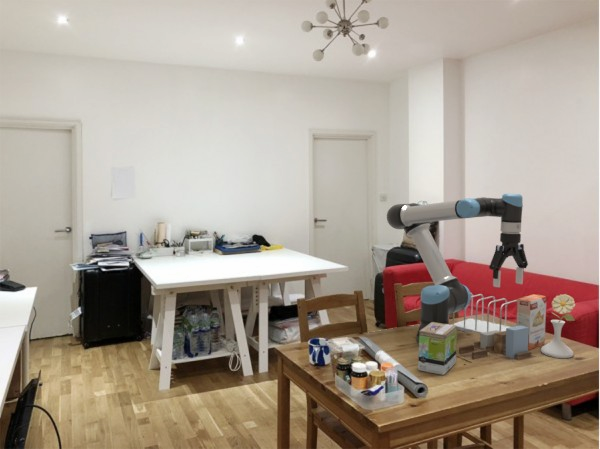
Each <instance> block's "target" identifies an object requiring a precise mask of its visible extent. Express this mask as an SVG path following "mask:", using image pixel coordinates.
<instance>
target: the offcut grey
mask: <svg viewBox="0 0 600 449" xmlns="http://www.w3.org/2000/svg"><path fill="white" fill-rule="evenodd" d="M497 332H501V331H498V330H495V331H490V332H484V333H480V340H479V341H480V348H482V349H486V346H490V345H494V333H497Z"/></svg>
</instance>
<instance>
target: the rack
mask: <svg viewBox="0 0 600 449" xmlns="http://www.w3.org/2000/svg"><path fill="white" fill-rule="evenodd" d="M473 345H474V349H478V350H483V349H482V348H480V340H479V341H478V340H477V341H474V343H473ZM486 350H488V353H489V354H491V355H495V356H498V357H499V358H502V359H505V360H508V361H512V362H514V363H516V362H520V361H524V360H528V359H532V358H536V357H537V356H535V355H534V354H532V351H530V350H528V351H527V352H523V353H519V354H516V359H512V358H509V357H506V349H504V350H503V354H499V353H496V352H494V345H490V346H486Z"/></svg>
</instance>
